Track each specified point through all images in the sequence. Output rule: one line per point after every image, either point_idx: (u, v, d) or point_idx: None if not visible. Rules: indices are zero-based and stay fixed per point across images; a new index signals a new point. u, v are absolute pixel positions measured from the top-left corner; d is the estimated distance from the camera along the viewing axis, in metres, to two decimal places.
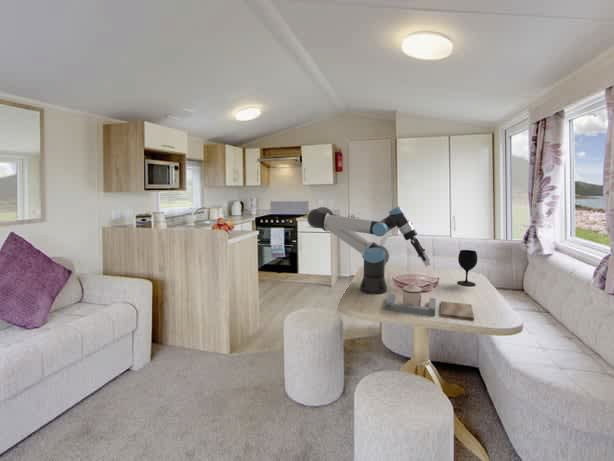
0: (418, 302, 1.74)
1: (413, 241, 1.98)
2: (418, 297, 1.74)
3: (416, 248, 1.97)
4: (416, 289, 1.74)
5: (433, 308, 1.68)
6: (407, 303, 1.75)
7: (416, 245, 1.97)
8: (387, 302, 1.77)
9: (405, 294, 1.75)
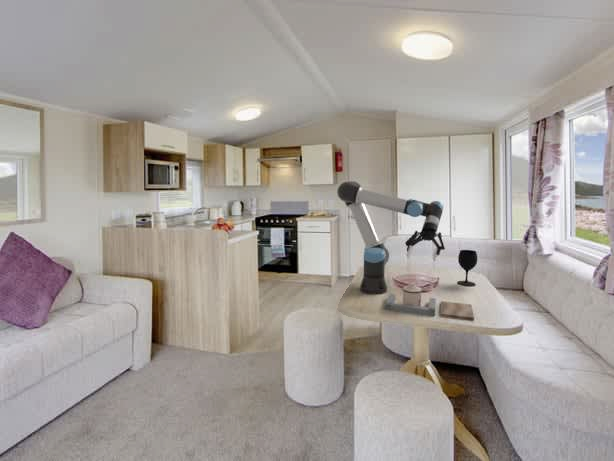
0: (418, 302, 1.74)
1: (441, 235, 1.88)
2: (418, 297, 1.74)
3: (442, 241, 1.85)
4: (416, 289, 1.74)
5: (433, 308, 1.68)
6: (407, 303, 1.75)
7: None
8: (387, 302, 1.77)
9: (405, 294, 1.75)
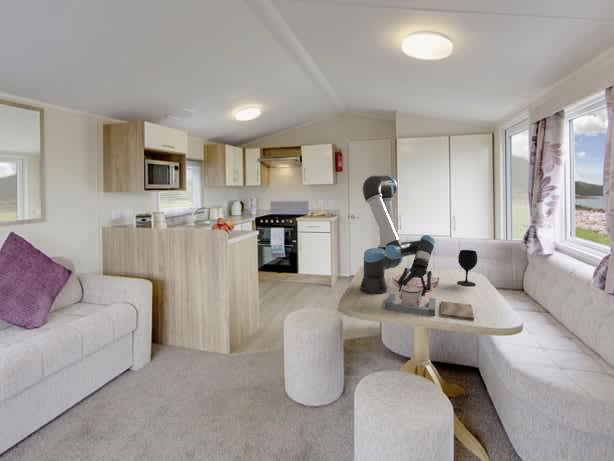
0: (416, 302, 1.74)
1: (431, 274, 1.80)
2: (416, 297, 1.74)
3: (430, 281, 1.77)
4: (414, 289, 1.74)
5: (433, 308, 1.68)
6: (405, 303, 1.75)
7: (430, 279, 1.79)
8: (387, 302, 1.77)
9: (403, 294, 1.76)
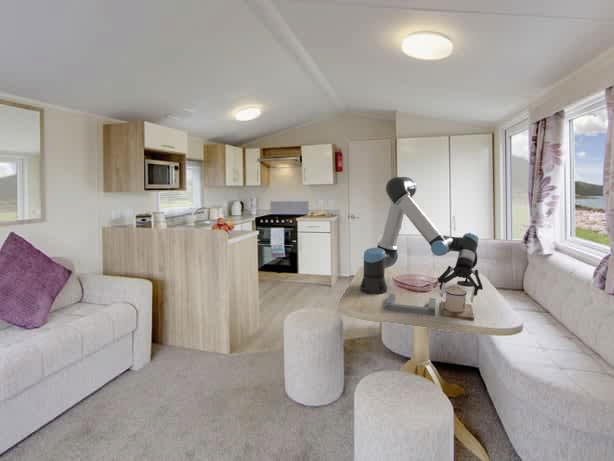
0: (462, 305, 1.66)
1: None
2: (463, 300, 1.66)
3: None
4: (460, 291, 1.66)
5: (433, 308, 1.68)
6: (451, 306, 1.67)
7: (479, 278, 1.70)
8: (387, 302, 1.77)
9: (448, 297, 1.68)
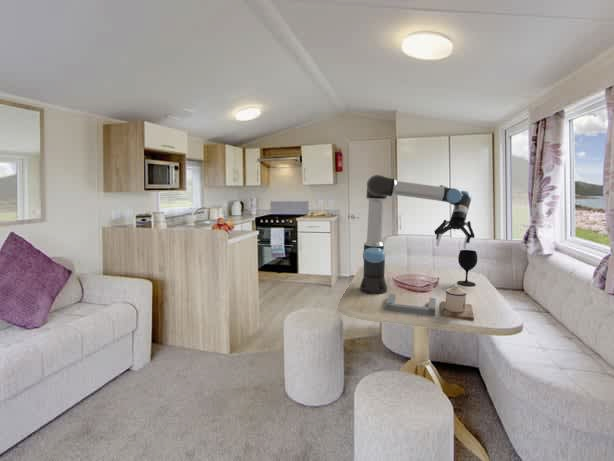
0: (463, 305, 1.66)
1: (470, 224, 1.92)
2: (463, 300, 1.66)
3: None
4: (460, 291, 1.66)
5: (433, 308, 1.68)
6: (451, 306, 1.67)
7: None
8: (387, 302, 1.77)
9: (449, 297, 1.68)
